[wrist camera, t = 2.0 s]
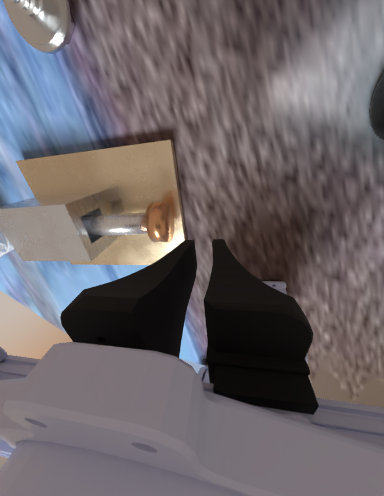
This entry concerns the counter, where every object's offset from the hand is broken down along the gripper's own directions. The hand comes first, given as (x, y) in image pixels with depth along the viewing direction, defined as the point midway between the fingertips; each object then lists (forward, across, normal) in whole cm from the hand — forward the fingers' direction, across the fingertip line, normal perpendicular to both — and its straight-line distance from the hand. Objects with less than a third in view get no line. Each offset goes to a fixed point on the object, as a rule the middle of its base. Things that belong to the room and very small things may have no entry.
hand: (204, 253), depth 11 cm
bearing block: (+9, +12, 0) cm, 16 cm away
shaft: (+8, +10, 0) cm, 13 cm away
